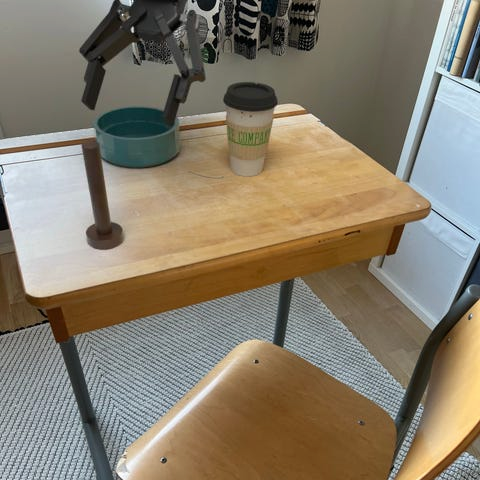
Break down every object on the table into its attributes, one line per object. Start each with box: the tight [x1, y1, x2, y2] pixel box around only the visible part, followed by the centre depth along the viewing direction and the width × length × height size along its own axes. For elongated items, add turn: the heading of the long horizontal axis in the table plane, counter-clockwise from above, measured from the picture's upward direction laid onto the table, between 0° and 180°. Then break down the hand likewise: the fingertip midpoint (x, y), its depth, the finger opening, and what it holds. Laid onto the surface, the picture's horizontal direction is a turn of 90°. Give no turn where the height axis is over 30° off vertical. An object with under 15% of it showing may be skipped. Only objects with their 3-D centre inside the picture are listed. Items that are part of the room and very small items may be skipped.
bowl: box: [92, 105, 181, 169], centre depth 103 cm, size 17×17×6 cm
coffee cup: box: [222, 81, 279, 177], centre depth 96 cm, size 10×10×15 cm
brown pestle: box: [81, 140, 125, 251], centre depth 76 cm, size 6×6×16 cm
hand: (126, 113), depth 77 cm, fingers open, 13 cm apart
